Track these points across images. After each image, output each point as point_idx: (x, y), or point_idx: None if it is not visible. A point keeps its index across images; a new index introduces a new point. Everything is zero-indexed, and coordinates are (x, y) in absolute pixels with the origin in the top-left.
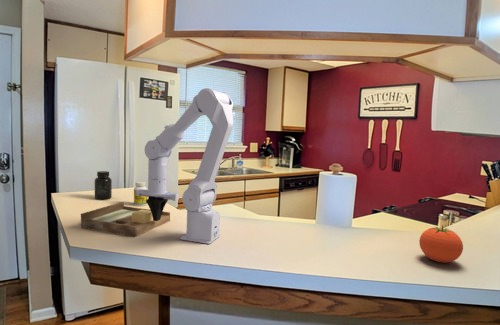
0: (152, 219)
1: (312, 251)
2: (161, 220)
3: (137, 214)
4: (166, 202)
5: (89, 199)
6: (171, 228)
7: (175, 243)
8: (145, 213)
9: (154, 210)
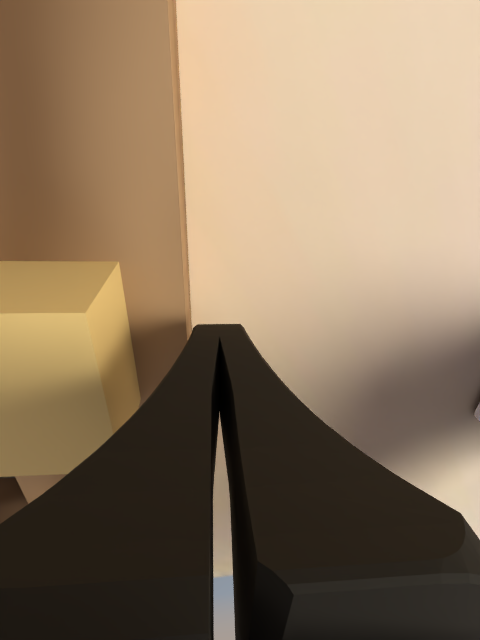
0: (122, 299)
1: None
2: (180, 194)
3: (18, 470)
4: (403, 490)
5: None
6: (336, 245)
7: (450, 455)
8: (77, 437)
9: (212, 484)
